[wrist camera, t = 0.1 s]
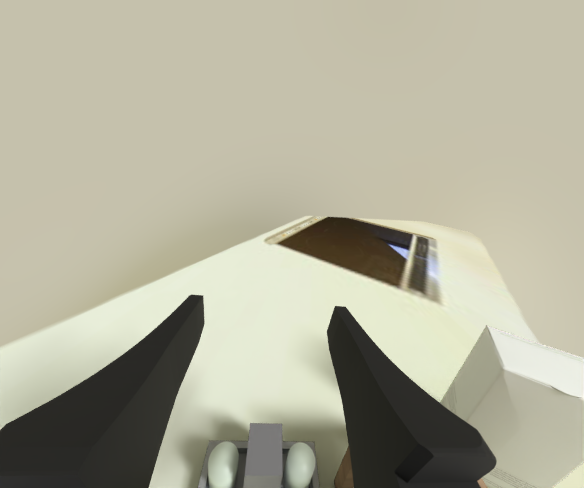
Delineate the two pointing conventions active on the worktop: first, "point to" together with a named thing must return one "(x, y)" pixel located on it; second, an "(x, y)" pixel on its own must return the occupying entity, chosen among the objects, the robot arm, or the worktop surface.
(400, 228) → the worktop surface
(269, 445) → the grey plastic caddy
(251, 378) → the worktop surface
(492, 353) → the skincare box
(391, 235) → the worktop surface
